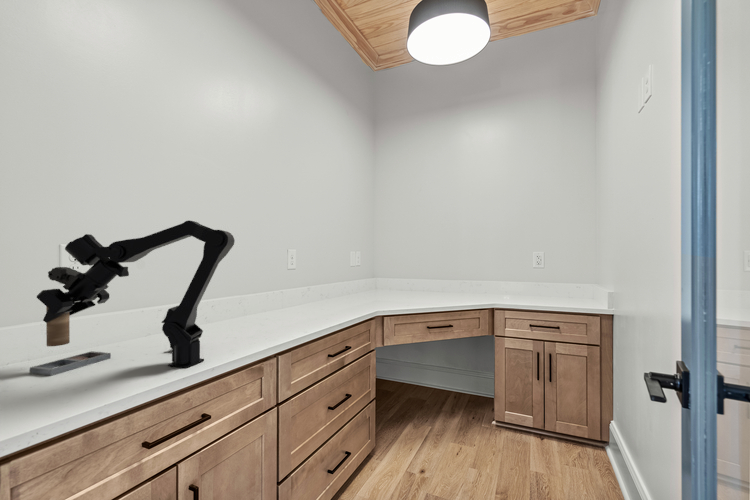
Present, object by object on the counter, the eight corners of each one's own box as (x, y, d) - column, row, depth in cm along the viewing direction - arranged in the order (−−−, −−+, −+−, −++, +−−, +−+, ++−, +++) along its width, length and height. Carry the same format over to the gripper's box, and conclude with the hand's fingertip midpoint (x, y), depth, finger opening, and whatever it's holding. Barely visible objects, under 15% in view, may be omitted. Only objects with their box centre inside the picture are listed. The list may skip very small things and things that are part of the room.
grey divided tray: (110, 358, 100) (110, 353, 100) (50, 375, 86) (50, 370, 86) (91, 356, 102) (91, 351, 102) (29, 373, 88) (29, 367, 88)
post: (73, 342, 92) (73, 298, 92) (54, 346, 88) (54, 300, 88) (61, 341, 93) (61, 297, 94) (42, 345, 89) (41, 300, 89)
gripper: (98, 256, 101) (57, 294, 99) (45, 257, 82) (-7, 303, 81) (127, 282, 102) (86, 320, 100) (81, 288, 83) (30, 335, 82)
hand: (52, 319), depth 91 cm, fingers closed on post, 4 cm apart
